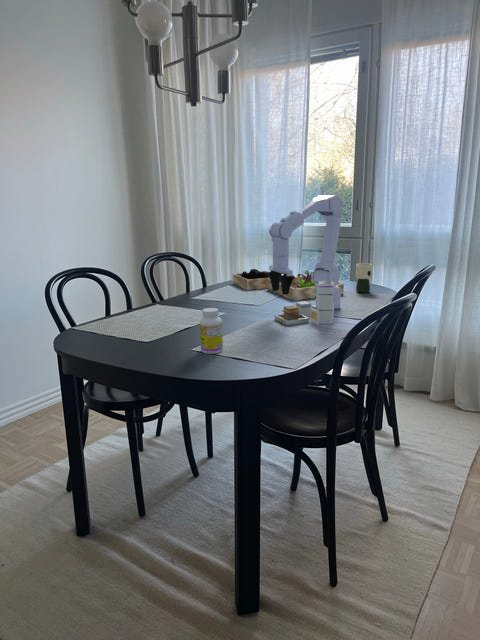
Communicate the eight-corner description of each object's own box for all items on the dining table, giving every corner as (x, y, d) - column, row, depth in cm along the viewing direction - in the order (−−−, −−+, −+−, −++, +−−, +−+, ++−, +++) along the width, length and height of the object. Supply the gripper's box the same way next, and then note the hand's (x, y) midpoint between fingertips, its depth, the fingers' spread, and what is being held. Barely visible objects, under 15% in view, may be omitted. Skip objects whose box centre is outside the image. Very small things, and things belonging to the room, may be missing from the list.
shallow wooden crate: (267, 280, 253) (267, 270, 251) (284, 286, 235) (284, 276, 234) (232, 283, 246) (232, 273, 244) (247, 290, 228) (247, 280, 227)
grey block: (305, 313, 184) (305, 301, 182) (310, 316, 180) (311, 303, 179) (295, 314, 182) (296, 302, 181) (301, 317, 179) (301, 304, 177)
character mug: (367, 295, 213) (369, 266, 210) (352, 293, 216) (353, 265, 213) (373, 290, 223) (374, 262, 219) (357, 289, 226) (359, 262, 222)
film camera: (273, 285, 240) (273, 267, 238) (267, 288, 232) (267, 270, 229) (245, 283, 246) (245, 266, 243) (238, 287, 237) (238, 269, 234)
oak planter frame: (313, 285, 238) (314, 275, 236) (343, 294, 215) (343, 283, 213) (267, 289, 228) (267, 279, 227) (293, 300, 205) (293, 289, 204)
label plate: (311, 321, 172) (311, 308, 171) (318, 324, 168) (319, 311, 167) (309, 321, 172) (310, 308, 171) (317, 325, 168) (317, 311, 166)
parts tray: (296, 316, 179) (296, 312, 179) (309, 322, 171) (309, 317, 170) (274, 319, 176) (274, 315, 175) (285, 325, 167) (286, 320, 167)
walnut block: (293, 318, 176) (293, 305, 174) (298, 321, 172) (299, 307, 171) (283, 319, 174) (283, 306, 173) (288, 322, 171) (289, 308, 169)
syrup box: (333, 324, 168) (334, 284, 165) (316, 323, 170) (317, 283, 166) (333, 320, 174) (335, 281, 170) (317, 319, 175) (318, 280, 171)
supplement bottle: (200, 347, 146) (199, 307, 142) (222, 347, 146) (221, 306, 143) (200, 355, 139) (199, 312, 136) (223, 354, 140) (222, 311, 136)
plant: (278, 295, 217) (279, 271, 214) (294, 287, 234) (295, 265, 231) (320, 299, 208) (321, 274, 205) (334, 291, 225) (335, 267, 222)
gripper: (261, 254, 177) (262, 289, 181) (280, 258, 164) (280, 297, 168) (278, 252, 180) (278, 288, 183) (298, 257, 167) (297, 295, 170)
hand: (280, 292), depth 176 cm, fingers open, 7 cm apart
